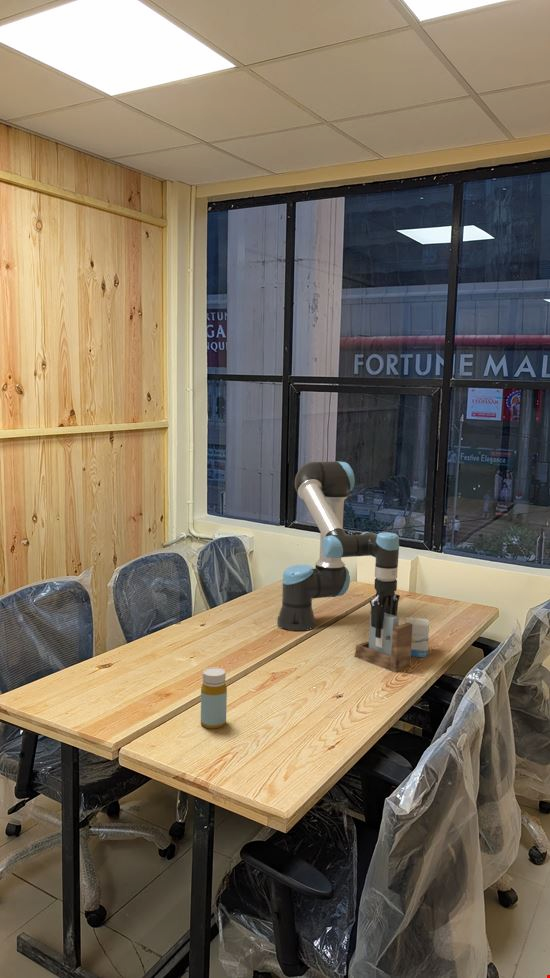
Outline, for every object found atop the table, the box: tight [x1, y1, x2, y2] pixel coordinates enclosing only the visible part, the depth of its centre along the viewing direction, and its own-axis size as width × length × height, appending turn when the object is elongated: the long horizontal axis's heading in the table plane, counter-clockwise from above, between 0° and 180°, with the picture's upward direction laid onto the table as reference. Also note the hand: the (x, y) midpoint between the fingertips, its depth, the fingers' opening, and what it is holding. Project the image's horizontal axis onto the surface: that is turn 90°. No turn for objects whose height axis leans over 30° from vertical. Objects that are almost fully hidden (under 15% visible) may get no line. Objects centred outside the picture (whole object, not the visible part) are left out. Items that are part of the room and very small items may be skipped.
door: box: [368, 610, 400, 656], centre depth 242 cm, size 10×4×14 cm, turn 42°
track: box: [354, 622, 412, 673], centre depth 243 cm, size 18×8×15 cm, turn 42°
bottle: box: [200, 666, 228, 730], centre depth 194 cm, size 7×7×15 cm
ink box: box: [404, 617, 430, 658], centre depth 253 cm, size 9×8×12 cm
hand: (382, 645), depth 243 cm, fingers closed on door, 3 cm apart
